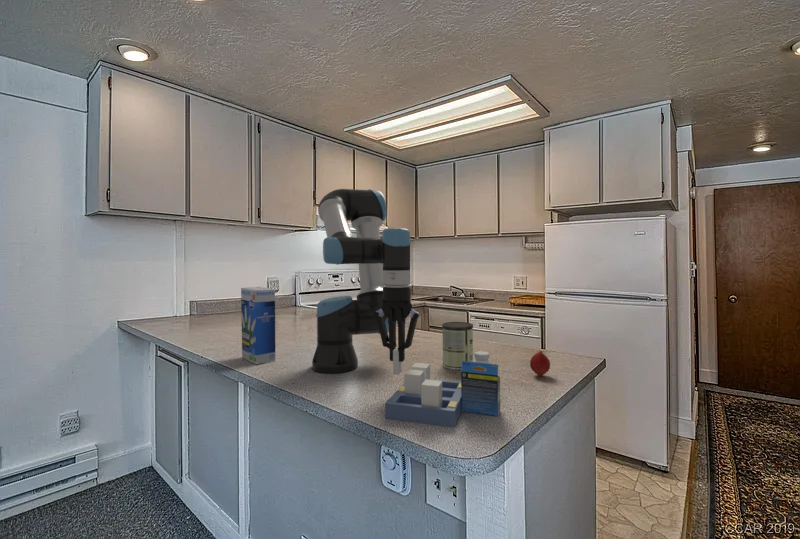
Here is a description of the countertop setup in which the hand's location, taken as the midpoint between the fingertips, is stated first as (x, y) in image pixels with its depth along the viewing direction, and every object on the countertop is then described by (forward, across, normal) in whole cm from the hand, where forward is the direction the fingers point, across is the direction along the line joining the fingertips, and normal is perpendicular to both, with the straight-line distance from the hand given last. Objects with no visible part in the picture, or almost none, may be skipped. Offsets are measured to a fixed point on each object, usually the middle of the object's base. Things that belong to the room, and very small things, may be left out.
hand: (397, 373), depth 106 cm
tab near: (+4, +13, -13) cm, 18 cm away
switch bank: (+6, +10, -6) cm, 13 cm away
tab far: (+3, +7, 0) cm, 7 cm away
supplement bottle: (+6, +21, +12) cm, 25 cm away
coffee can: (+6, +11, +31) cm, 33 cm away
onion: (+6, +37, +27) cm, 46 cm away
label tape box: (+6, +23, -6) cm, 24 cm away
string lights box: (+6, -59, +18) cm, 62 cm away
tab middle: (+3, +7, -6) cm, 10 cm away
